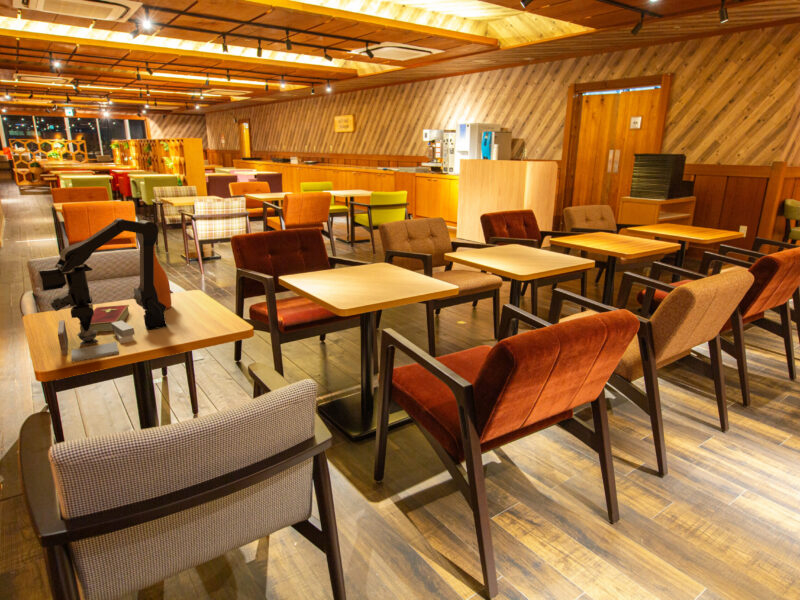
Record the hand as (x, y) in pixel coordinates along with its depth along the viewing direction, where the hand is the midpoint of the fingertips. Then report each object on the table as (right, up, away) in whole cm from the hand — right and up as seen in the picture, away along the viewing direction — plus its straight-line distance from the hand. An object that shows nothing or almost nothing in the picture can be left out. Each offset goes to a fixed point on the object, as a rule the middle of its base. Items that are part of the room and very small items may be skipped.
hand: (86, 329), depth 170 cm
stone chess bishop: (0, -5, +2) cm, 5 cm away
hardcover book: (-5, +1, +21) cm, 22 cm away
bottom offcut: (+9, -4, +7) cm, 12 cm away
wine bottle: (+7, +6, +38) cm, 39 cm away
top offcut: (+9, -1, +6) cm, 11 cm away
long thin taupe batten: (-6, -6, -2) cm, 9 cm away
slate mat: (+7, -7, -7) cm, 13 cm away
